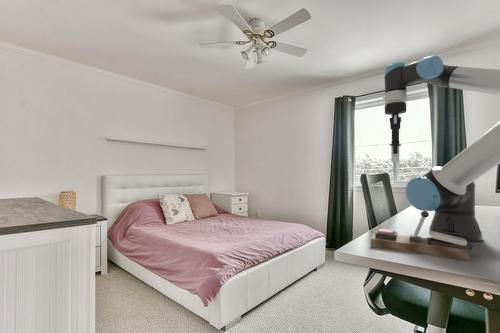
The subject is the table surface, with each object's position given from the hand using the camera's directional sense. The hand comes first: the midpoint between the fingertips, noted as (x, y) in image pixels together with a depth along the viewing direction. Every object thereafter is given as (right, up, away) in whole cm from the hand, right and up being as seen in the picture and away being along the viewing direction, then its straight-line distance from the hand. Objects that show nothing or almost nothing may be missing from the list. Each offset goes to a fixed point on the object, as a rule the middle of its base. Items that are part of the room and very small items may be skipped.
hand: (395, 162), depth 100 cm
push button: (-14, -25, -18) cm, 34 cm away
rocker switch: (0, -23, -27) cm, 35 cm away
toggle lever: (-7, -23, -22) cm, 33 cm away
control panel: (-7, -27, -23) cm, 36 cm away
